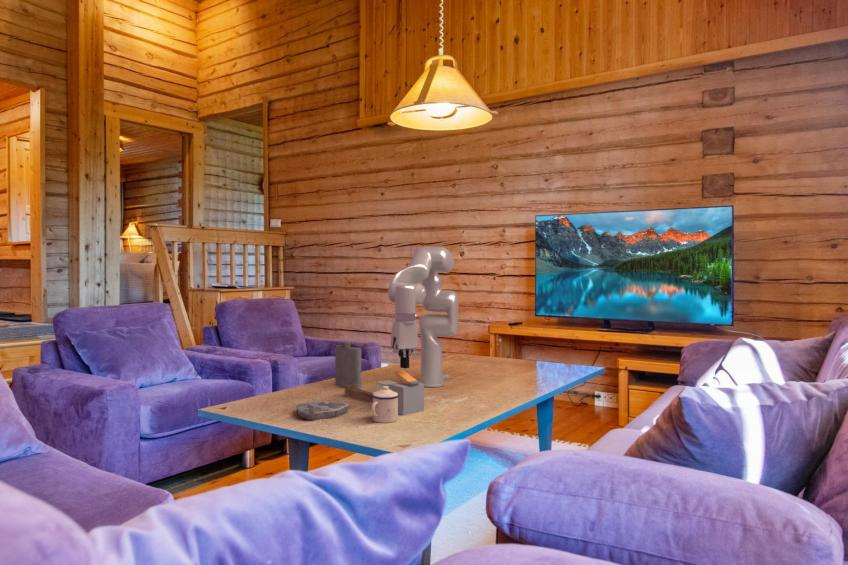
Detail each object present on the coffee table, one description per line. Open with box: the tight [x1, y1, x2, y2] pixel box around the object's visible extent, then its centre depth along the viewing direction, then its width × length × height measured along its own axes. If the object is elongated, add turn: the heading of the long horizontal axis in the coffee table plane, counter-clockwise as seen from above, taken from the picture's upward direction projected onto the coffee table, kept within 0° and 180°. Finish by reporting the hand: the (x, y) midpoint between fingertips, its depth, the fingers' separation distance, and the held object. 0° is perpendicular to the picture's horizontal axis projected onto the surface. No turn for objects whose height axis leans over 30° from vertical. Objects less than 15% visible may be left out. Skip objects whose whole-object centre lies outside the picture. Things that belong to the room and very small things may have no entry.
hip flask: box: [334, 340, 362, 390], centre depth 259 cm, size 16×4×20 cm, turn 47°
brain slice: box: [295, 400, 351, 421], centre depth 212 cm, size 20×17×3 cm
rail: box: [344, 384, 374, 404], centre depth 232 cm, size 5×30×4 cm, turn 44°
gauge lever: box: [393, 369, 420, 386], centre depth 218 cm, size 4×10×2 cm, turn 44°
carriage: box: [376, 380, 399, 392], centre depth 225 cm, size 6×6×8 cm
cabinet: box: [389, 381, 425, 416], centre depth 218 cm, size 10×8×10 cm
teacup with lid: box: [370, 386, 399, 424], centre depth 204 cm, size 12×9×12 cm
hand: (404, 367), depth 218 cm, fingers closed
